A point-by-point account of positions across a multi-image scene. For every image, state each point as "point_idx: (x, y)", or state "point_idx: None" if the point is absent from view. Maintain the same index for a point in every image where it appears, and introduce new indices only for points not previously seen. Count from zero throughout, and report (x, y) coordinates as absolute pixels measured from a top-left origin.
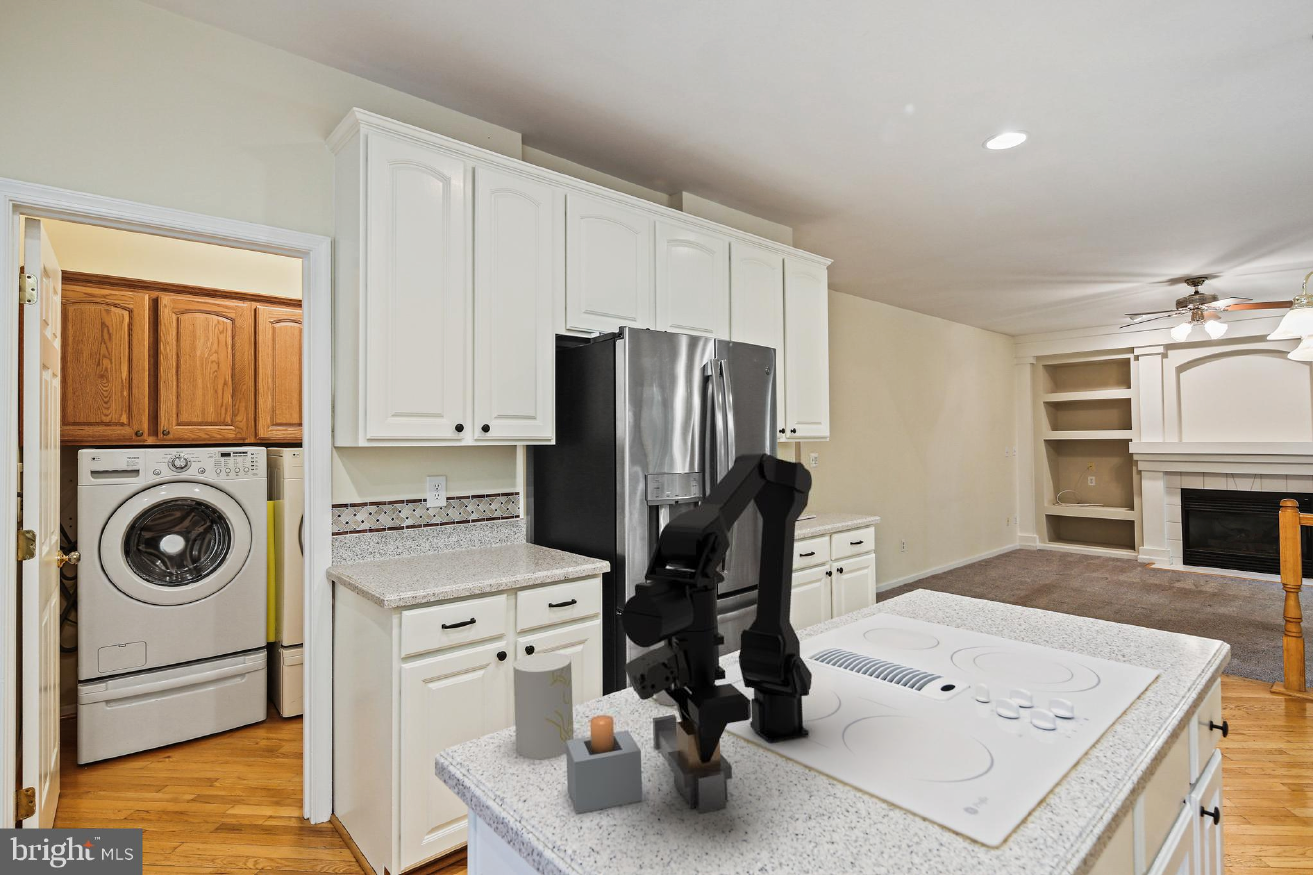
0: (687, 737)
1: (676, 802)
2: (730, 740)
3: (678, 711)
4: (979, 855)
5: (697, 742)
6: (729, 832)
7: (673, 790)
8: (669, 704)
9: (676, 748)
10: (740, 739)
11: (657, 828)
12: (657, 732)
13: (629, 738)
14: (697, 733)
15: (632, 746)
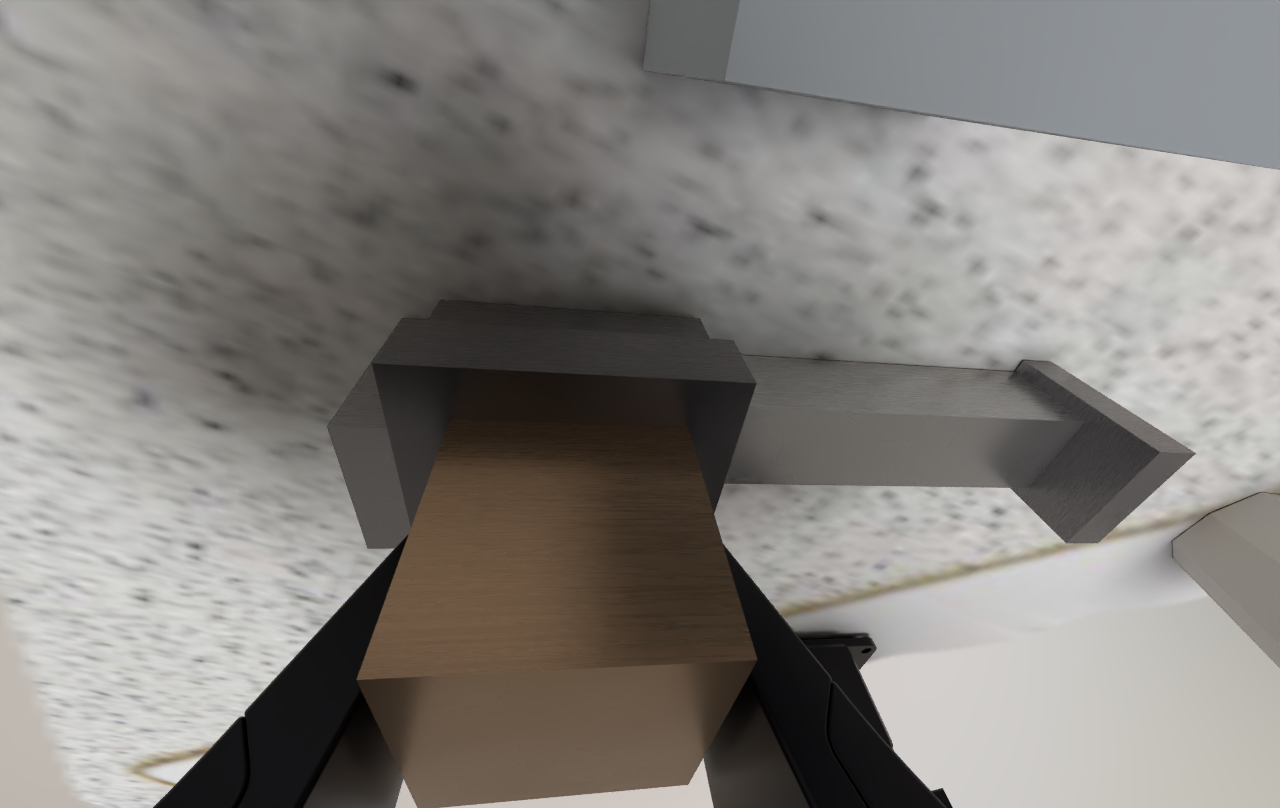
0: (385, 645)
1: (543, 259)
2: (844, 578)
3: (875, 749)
4: (99, 754)
5: (358, 649)
6: (213, 371)
7: (657, 291)
8: (1213, 518)
9: (871, 438)
10: (827, 597)
11: (281, 12)
12: (1084, 417)
13: (1128, 83)
14: (180, 805)
15: (912, 4)
